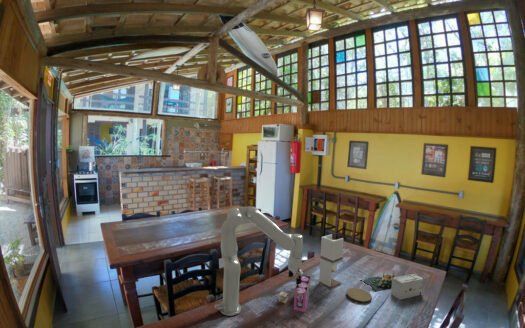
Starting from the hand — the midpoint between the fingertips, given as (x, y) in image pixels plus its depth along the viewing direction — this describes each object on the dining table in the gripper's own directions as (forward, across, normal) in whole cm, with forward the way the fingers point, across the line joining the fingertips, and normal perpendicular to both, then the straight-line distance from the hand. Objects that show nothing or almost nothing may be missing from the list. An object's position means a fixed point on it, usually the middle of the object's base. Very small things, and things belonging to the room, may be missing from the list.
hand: (294, 280), depth 171 cm
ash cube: (+10, -4, -5) cm, 12 cm away
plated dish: (+15, +2, +77) cm, 79 cm away
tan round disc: (+14, +10, +44) cm, 48 cm away
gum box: (+15, +2, +5) cm, 16 cm away
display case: (+14, -11, +36) cm, 40 cm away
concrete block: (+14, +19, +78) cm, 81 cm away
